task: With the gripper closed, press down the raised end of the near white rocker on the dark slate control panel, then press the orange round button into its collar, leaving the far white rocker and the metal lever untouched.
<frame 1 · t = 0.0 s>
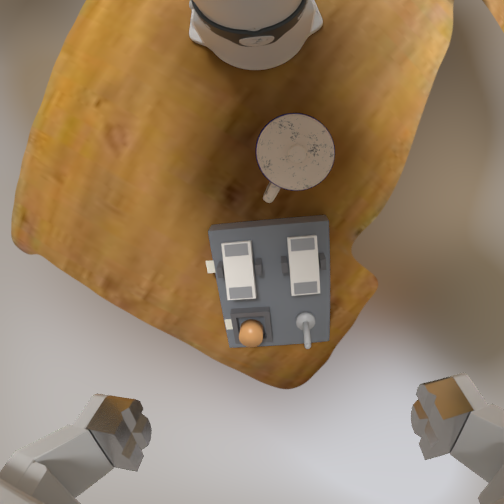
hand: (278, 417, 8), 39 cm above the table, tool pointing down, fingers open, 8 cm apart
rocker B: (303, 265, 43), point 5 cm above the table, hinge at -15.0°
teacup with lid: (286, 156, 42), on the table
button C: (251, 333, 47), point 6 cm above the table, slide at 0.0 cm
rocker A: (239, 270, 44), point 5 cm above the table, hinge at -15.0°
panel: (274, 282, 50), on the table
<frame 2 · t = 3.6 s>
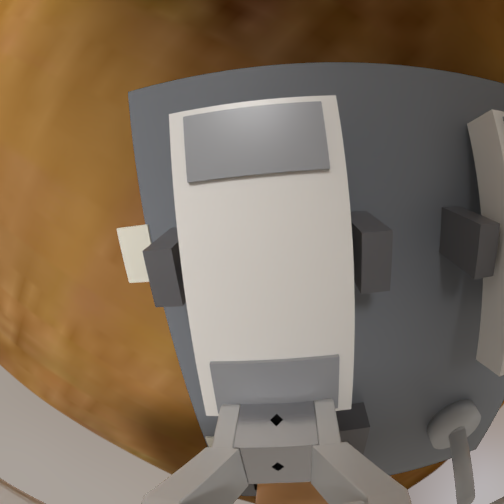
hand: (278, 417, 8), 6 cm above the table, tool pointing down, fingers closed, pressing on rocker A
button C: (297, 491, 10), point 6 cm above the table, slide at 0.0 cm
rocker A: (268, 266, 8), point 5 cm above the table, hinge at -11.4°, touching gripper
panel: (374, 318, 14), on the table
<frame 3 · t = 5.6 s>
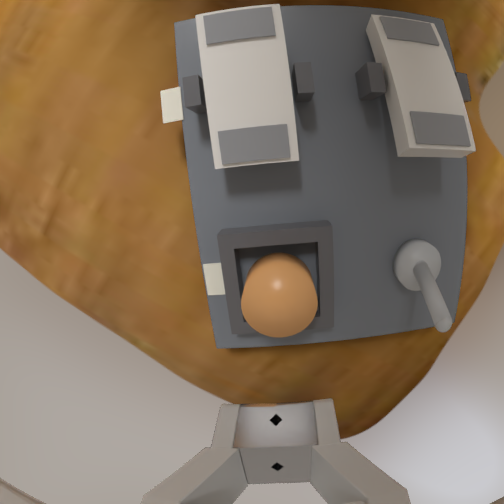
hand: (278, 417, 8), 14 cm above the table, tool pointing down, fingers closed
rocker B: (421, 81, 12), point 5 cm above the table, hinge at -15.0°
button C: (279, 294, 16), point 6 cm above the table, slide at 0.0 cm
rocker A: (247, 83, 13), point 5 cm above the table, hinge at 7.2°
panel: (332, 171, 19), on the table
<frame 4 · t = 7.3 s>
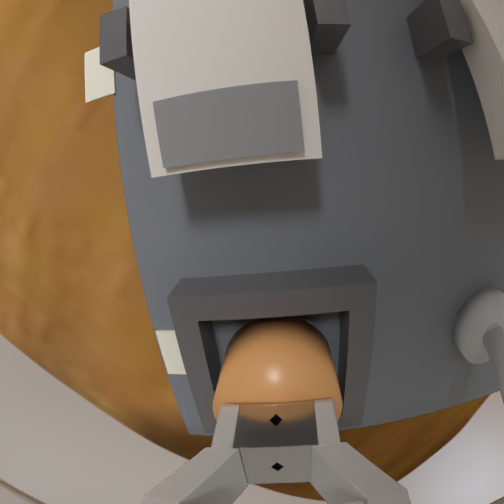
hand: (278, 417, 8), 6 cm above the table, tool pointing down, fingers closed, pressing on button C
button C: (277, 385, 9), point 5 cm above the table, slide at 0.8 cm, touching gripper
rocker A: (217, 12, 6), point 5 cm above the table, hinge at 8.2°
panel: (365, 177, 12), on the table
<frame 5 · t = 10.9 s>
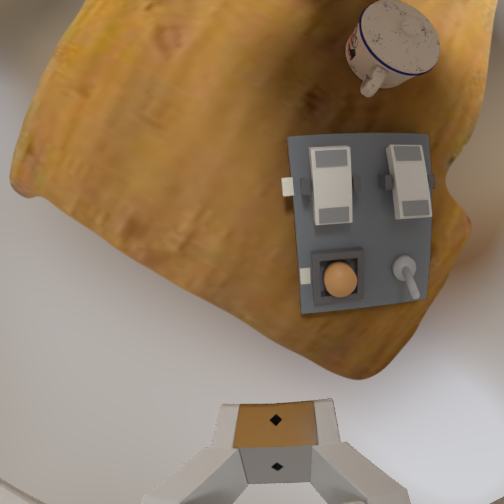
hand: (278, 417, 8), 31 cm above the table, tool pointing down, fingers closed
rocker B: (409, 181, 30), point 5 cm above the table, hinge at -15.0°
teacup with lid: (372, 66, 31), on the table
button C: (339, 278, 34), point 5 cm above the table, slide at 1.1 cm
rocker A: (331, 185, 31), point 5 cm above the table, hinge at 8.4°
panel: (362, 219, 37), on the table
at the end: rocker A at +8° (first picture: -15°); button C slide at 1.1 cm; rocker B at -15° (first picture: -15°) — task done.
